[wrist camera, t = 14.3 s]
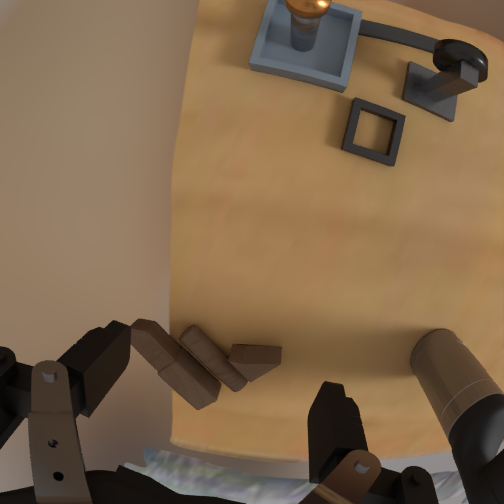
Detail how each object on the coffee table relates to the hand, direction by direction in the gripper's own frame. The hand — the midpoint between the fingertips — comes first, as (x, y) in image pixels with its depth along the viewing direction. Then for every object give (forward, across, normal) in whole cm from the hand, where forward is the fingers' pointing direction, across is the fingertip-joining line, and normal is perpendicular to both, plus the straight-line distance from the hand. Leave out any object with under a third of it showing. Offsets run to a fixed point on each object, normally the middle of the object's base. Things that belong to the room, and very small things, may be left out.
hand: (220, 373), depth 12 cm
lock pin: (+29, +2, -26) cm, 39 cm away
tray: (+30, +1, -26) cm, 40 cm away
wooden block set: (+31, +5, +19) cm, 36 cm away
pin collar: (+30, -10, -16) cm, 36 cm away
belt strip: (+30, -12, -32) cm, 45 cm away
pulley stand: (+30, -17, -25) cm, 43 cm away
